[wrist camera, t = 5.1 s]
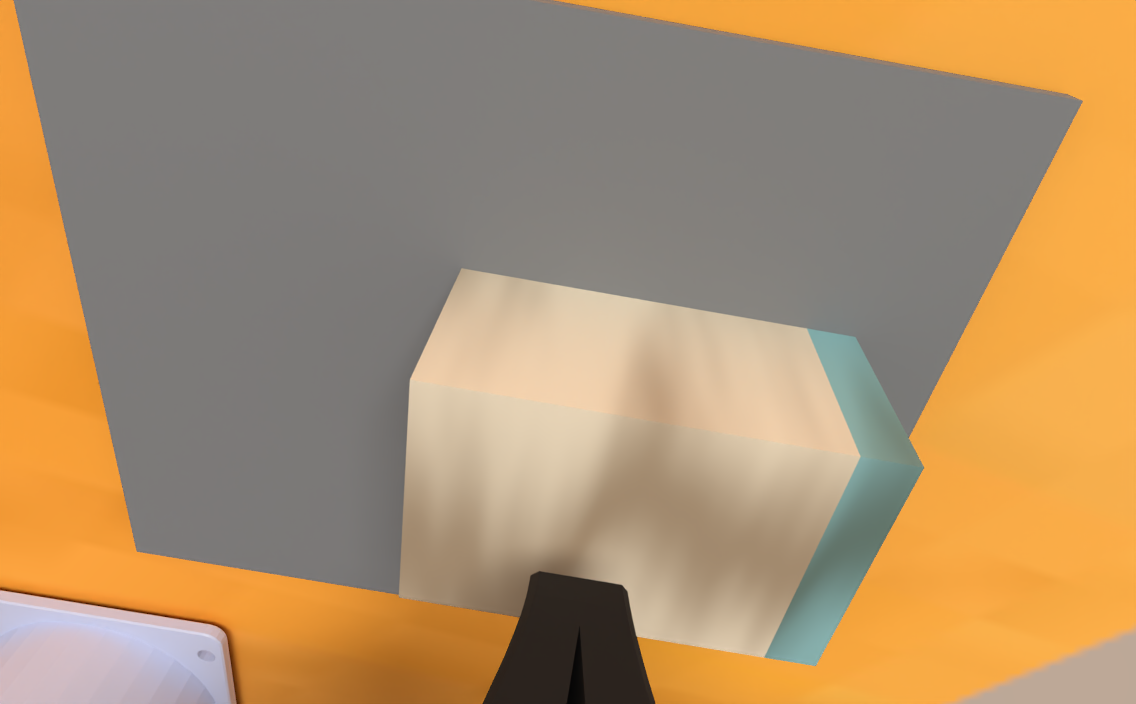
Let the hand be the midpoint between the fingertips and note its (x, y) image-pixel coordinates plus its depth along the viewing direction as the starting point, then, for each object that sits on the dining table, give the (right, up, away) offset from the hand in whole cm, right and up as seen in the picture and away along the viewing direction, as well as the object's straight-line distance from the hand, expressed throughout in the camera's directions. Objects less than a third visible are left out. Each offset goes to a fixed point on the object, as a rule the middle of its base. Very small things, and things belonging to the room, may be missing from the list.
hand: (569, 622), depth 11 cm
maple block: (-3, +3, +3) cm, 5 cm away
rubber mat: (-2, +4, +5) cm, 7 cm away
